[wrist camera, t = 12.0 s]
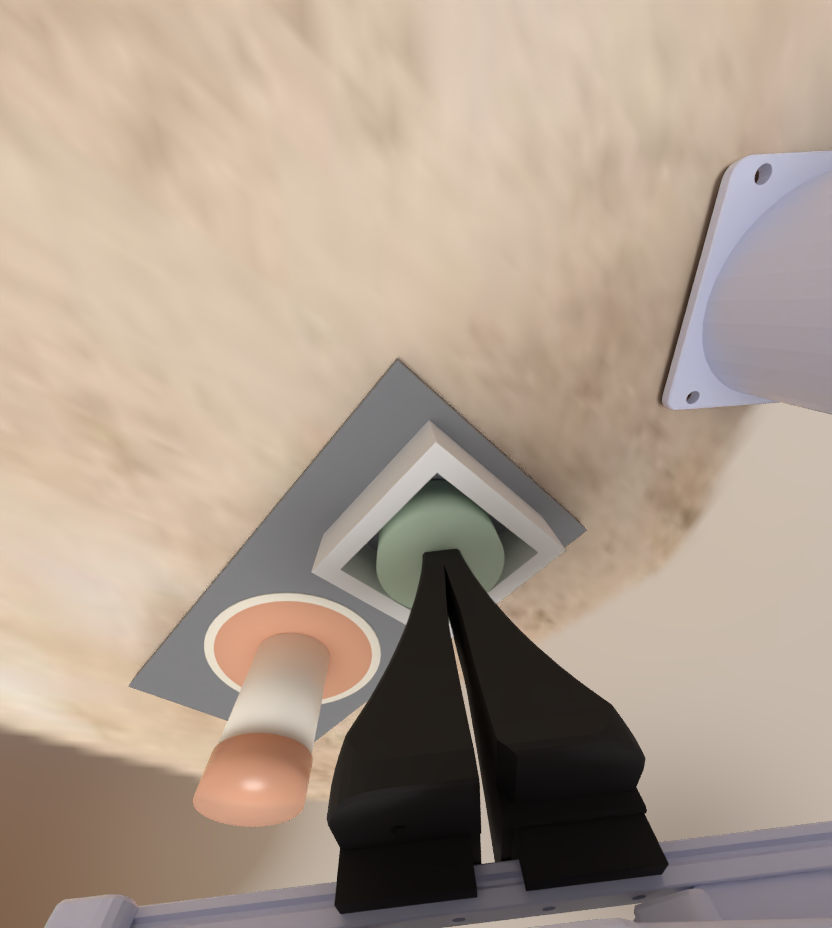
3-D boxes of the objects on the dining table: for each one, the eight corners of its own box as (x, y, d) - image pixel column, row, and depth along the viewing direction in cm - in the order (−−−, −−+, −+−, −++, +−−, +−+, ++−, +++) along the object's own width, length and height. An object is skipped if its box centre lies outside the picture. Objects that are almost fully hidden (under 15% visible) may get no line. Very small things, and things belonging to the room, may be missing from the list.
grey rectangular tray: (397, 358, 12) (397, 371, 10) (580, 522, 16) (617, 565, 14) (135, 675, 19) (93, 735, 16) (308, 737, 23) (296, 794, 20)
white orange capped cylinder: (282, 620, 17) (227, 766, 12) (346, 652, 18) (325, 797, 13) (240, 661, 18) (173, 811, 13) (303, 688, 19) (268, 834, 14)
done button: (431, 458, 13) (438, 487, 11) (510, 522, 15) (530, 558, 13) (356, 535, 15) (350, 573, 12) (436, 585, 16) (442, 628, 14)
